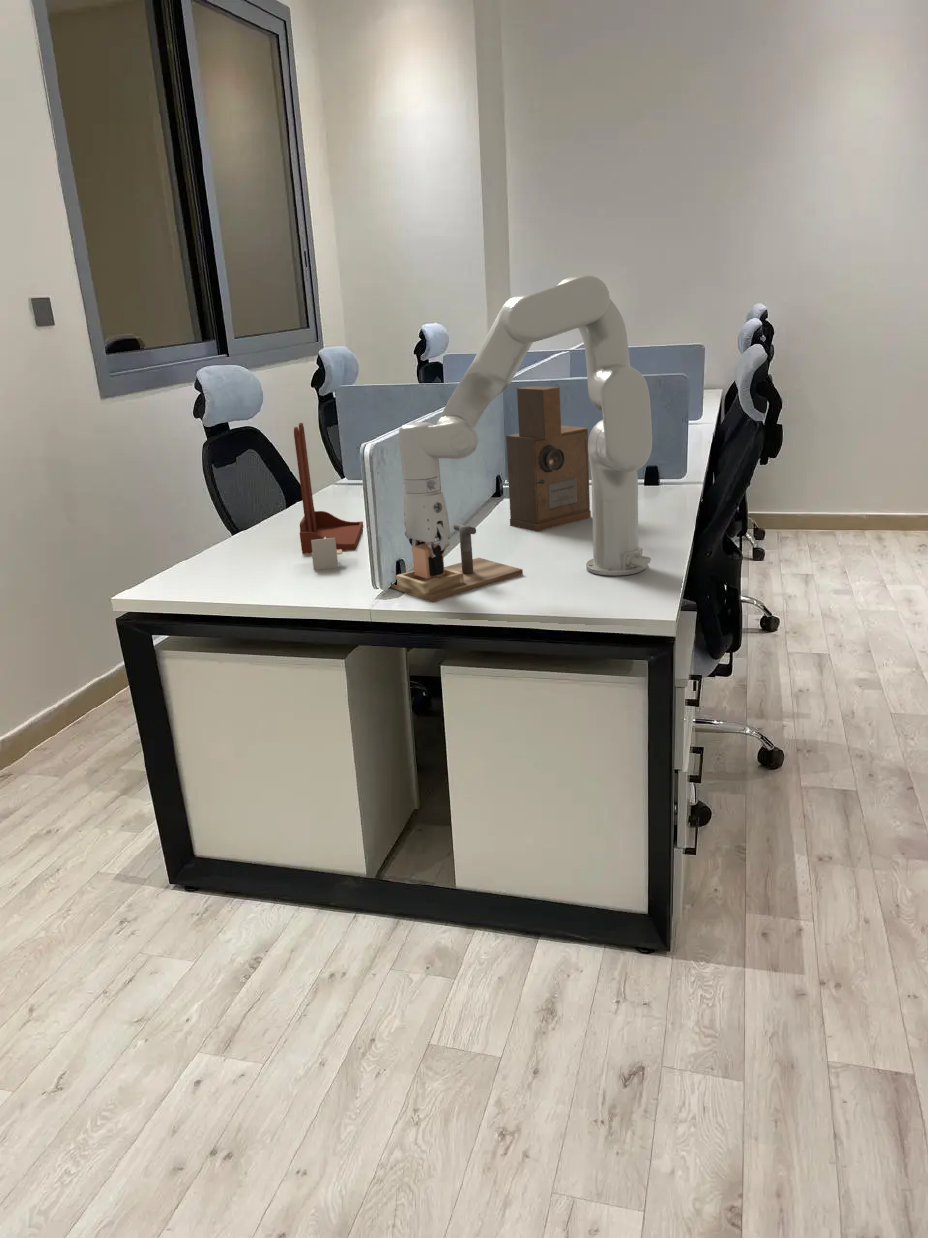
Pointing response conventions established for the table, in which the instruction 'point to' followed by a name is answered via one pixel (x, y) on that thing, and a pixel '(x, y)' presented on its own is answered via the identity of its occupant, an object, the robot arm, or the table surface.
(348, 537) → the red dustpan
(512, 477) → the vintage camera
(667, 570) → the table surface
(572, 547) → the table surface
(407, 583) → the wooden board with post
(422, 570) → the salmon orange block
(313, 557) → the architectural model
